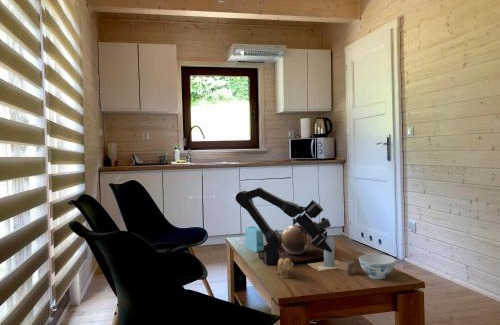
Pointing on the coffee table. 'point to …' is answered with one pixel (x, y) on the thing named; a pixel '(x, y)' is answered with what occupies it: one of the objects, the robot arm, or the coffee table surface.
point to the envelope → (321, 267)
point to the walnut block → (347, 267)
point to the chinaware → (377, 265)
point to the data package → (254, 239)
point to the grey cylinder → (327, 255)
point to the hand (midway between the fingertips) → (332, 249)
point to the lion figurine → (284, 266)
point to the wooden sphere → (295, 239)
